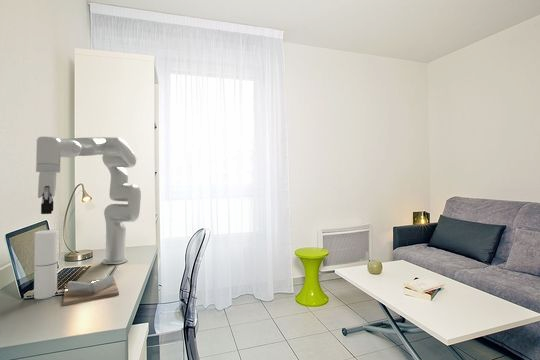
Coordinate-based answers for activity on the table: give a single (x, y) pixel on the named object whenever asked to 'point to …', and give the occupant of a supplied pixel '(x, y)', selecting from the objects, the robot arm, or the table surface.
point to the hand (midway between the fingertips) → (47, 212)
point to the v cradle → (90, 290)
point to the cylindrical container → (45, 264)
